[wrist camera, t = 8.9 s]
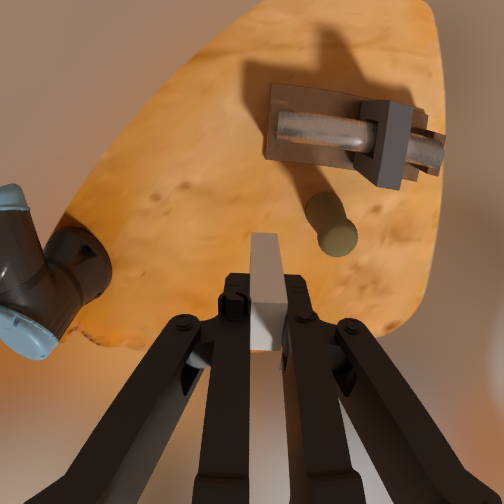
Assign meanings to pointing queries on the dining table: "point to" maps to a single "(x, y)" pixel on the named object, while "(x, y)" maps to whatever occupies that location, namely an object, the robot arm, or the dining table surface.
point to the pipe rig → (339, 131)
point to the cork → (331, 224)
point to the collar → (385, 142)
